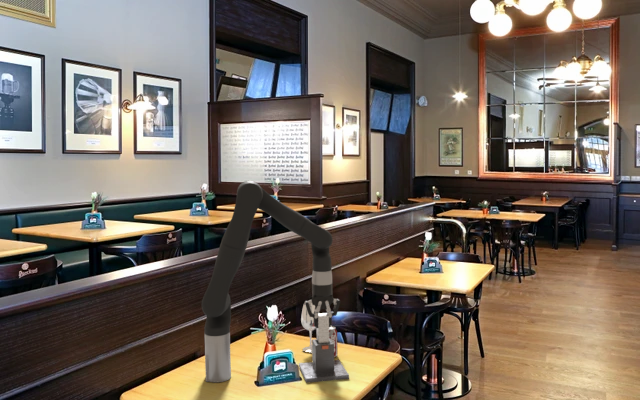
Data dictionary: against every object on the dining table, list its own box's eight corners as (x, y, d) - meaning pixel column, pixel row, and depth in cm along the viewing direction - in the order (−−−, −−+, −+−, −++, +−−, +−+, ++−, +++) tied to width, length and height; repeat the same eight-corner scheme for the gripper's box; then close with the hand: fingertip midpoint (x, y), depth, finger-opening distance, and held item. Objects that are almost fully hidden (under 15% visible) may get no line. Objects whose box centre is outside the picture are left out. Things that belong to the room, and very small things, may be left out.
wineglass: (299, 348, 245) (298, 302, 243) (317, 346, 247) (316, 300, 246) (304, 354, 237) (303, 306, 236) (322, 352, 240) (321, 305, 238)
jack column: (318, 358, 214) (318, 316, 213) (316, 354, 218) (316, 313, 217) (329, 357, 215) (328, 315, 214) (327, 354, 219) (326, 312, 217)
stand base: (306, 382, 207) (305, 350, 206) (299, 367, 223) (298, 336, 222) (349, 378, 211) (348, 346, 210) (339, 363, 226) (338, 333, 225)
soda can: (318, 357, 233) (317, 328, 232) (325, 352, 239) (325, 324, 238) (333, 360, 230) (332, 330, 229) (340, 355, 236) (339, 326, 235)
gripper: (305, 285, 209) (305, 331, 210) (343, 283, 212) (343, 328, 213) (301, 281, 216) (302, 325, 218) (338, 279, 219) (338, 323, 221)
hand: (322, 326), depth 215 cm, fingers closed on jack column, 4 cm apart
